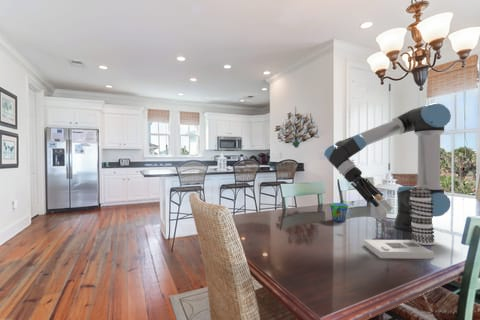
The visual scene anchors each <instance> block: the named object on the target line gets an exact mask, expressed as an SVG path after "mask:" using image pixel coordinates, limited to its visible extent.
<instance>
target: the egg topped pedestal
mask: <svg viewBox="0 0 480 320" xmlns="http://www.w3.org/2000/svg"><path fill="white" fill-rule="evenodd" d="M376 199H377V200H378V201H379V202H380V203H381V204H382V205H383V206H384V207H385V208H386V201H387V199H385V198H384V199H385V200H384V199H381V195H376ZM370 217H372V218H373V219H376V220H377V219H379V220H384V219H385V220H387V219H388V218H387V217H388V216H387V211H386V212H385V213H383V214H381V213H380V212H379V211H378V210H377V209H376V208H375V207H374V205H373V204H372V203H371V202H370Z"/></svg>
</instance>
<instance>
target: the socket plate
mask: <svg viewBox="0 0 480 320" xmlns="http://www.w3.org/2000/svg"><path fill="white" fill-rule="evenodd" d="M363 246H364V247H366V248H367V249H368V250H369V251H371V252H372V253H374V254H375V255H376V256H377V257H378V258H379V259H413V260H414V259H421V260H423V259H424V260H425V259H429V260H431V259H435V252H434V251H432V250H430V249H428V248H426V247H425V246H423V245H422V244H417V243H415V242H413V241H412V239H363Z"/></svg>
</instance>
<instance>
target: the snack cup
mask: <svg viewBox="0 0 480 320" xmlns="http://www.w3.org/2000/svg"><path fill="white" fill-rule="evenodd" d="M329 207H330V211H331V218H332V221H334V222H341V223H342V222H346V220H347V213H348V208H349V205H348V204H347V203H343V202H342V203H341V202H333V203H332V202H331V203H330V204H329Z"/></svg>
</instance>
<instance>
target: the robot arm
mask: <svg viewBox="0 0 480 320" xmlns="http://www.w3.org/2000/svg"><path fill="white" fill-rule="evenodd" d="M451 117H452V114H451V111H450V110H449V108H448V107H447V106H445V105H444V104H442V103H437V102H436V103H435V102H434V103H429V104H425V105H422V106H420V107H415V108H413V109H410V110H408V111H406V112H404V113H402V114H400V115H398V116H395V117H393V118H392V119H391V120H390V121H388V122H386V123H383V124H380V125H378V126H376V127H372V128H369V129H368V130H365V131H363V132H361V133H357V134H355V135H353V136H350V137H348V138H345V139H343V140H339V141H336V142H335V143H334V144H332V145H330V146H328V147H326V149H325V151H324V153H323V154H324V157H325V158H326V159H327V161H328V162H330V164H331V165H333V166H334V168H335V170H337V171H338V174H340V175H342V176H343V178H344V179H345V180H346V181H347V182H348V183H350V185H351V186H352V187H353V188H354V189H355V190H356V191H357V192H358V193H359V195H360V196H361V197H362V198H363V199H364V200H365V202H367V203H370V204H371V203H372V204H373V205H374V207H375V208H376V209H377V210H378V211H379V212H380V213H381V214H383V213H385V212H386V213H388V212H390V211H391V210H393V209H394V207H393V206H392V205H391V204H390V202H388V201H387V200H386V199H385V198H384V194H383V193H382V192H381V190H379V189H378V188H377V187H376V186H375V185H374V184H373V183H371V181H370V180H369V179H368V178H364V177H362V174H363V172H362V170H361V169H359V168H358V166H357V165H356V164H355V163H354V162H353V161H352V160H351V159H350V158H351V157H353V156H354V155H356V154H358V153H359V152H361V151H363V150H364V148H366V147H367V146H369V145H371V144H375V143H377V142H380V141H382V140H384V139H388V138H391V137H392V136H395V135H402V134H405V133H408V132H409V133H411V132H414V134H415V135H416V136H417V137H418V138H417V145H418V146H417V155H418V157H417V170H418V171H417V184H416V185H415V186H414V185H413V186H412V185H411V186H399V187H397V193H396V194H397V213H396V217H395V219H394V221H393V223H394V224H393V226H394V227H395V228H396V229H399V230H403V231H408V232H412V231H411V229H412V228H411V222H412V217H411V216H410V210H411V208H409V206H410V205H409V202H411V201H410V191H409V190H411V189H412V188H413V187H426V188H428V189H429V191H430V193H431V200H433V202H431V203H433V204H434V205H432V206H431V207H432V208H433V210H431V211H433V213H432V214H431V215H432V216H433V217H441V216H443V215H445V214H446V213H448V211H449V210H450V208H451V199H450V197H448V195H447V194H445V187H443V186H442V184H441V135H442V134H443V133H445V127H446V126H447V125H448V124H449V123H450V121H451ZM376 195H381V199H384V200H386V208H385V207H384V206H383V205H382V204H381V203H380V202H379V201H378V200H377V199H376Z"/></svg>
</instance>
